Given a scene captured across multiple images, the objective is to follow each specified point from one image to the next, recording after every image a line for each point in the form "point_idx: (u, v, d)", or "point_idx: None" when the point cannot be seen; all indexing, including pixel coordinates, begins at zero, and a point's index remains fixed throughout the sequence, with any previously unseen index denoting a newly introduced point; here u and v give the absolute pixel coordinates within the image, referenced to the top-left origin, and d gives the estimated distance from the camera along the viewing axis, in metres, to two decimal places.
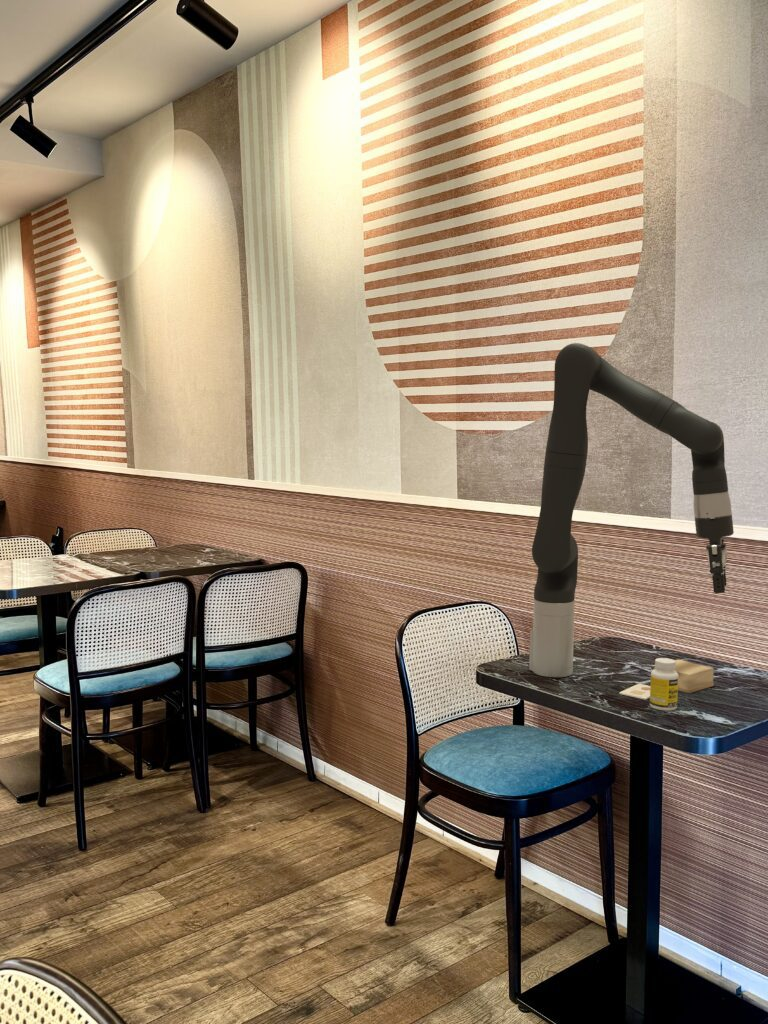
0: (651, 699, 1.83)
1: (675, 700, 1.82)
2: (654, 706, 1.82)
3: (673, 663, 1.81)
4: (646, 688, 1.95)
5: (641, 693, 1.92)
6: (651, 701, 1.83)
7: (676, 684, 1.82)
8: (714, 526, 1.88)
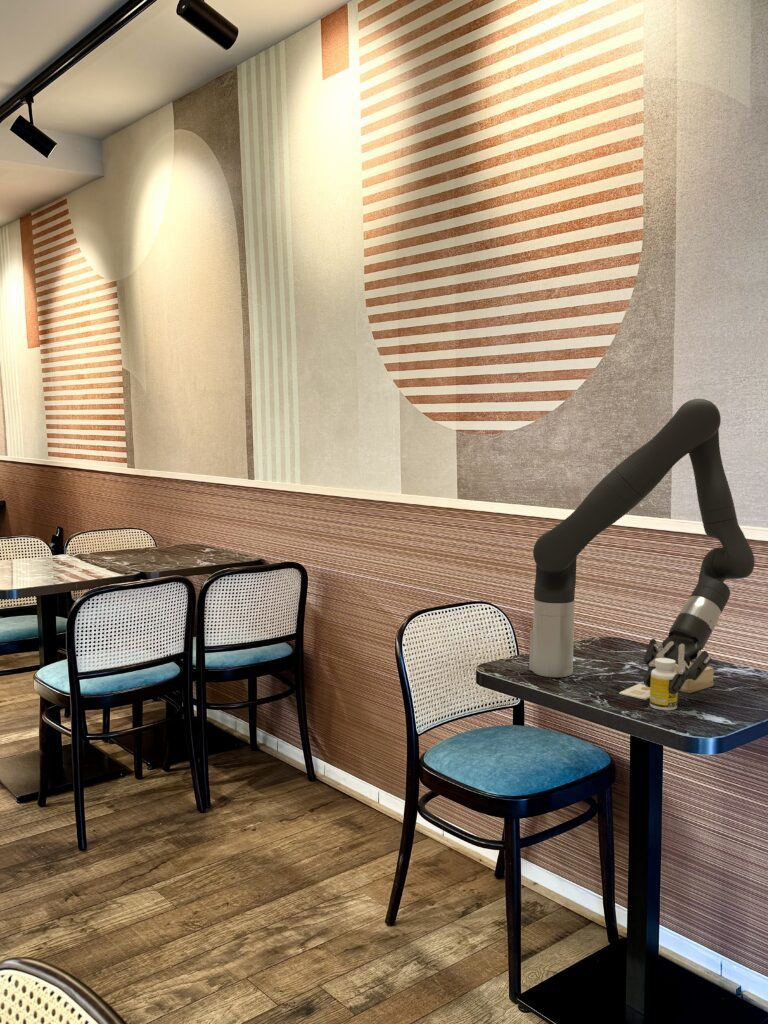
0: (651, 699, 1.83)
1: (675, 700, 1.82)
2: (654, 706, 1.82)
3: (673, 663, 1.81)
4: (646, 688, 1.95)
5: (641, 693, 1.92)
6: (651, 701, 1.83)
7: None
8: (707, 636, 1.85)
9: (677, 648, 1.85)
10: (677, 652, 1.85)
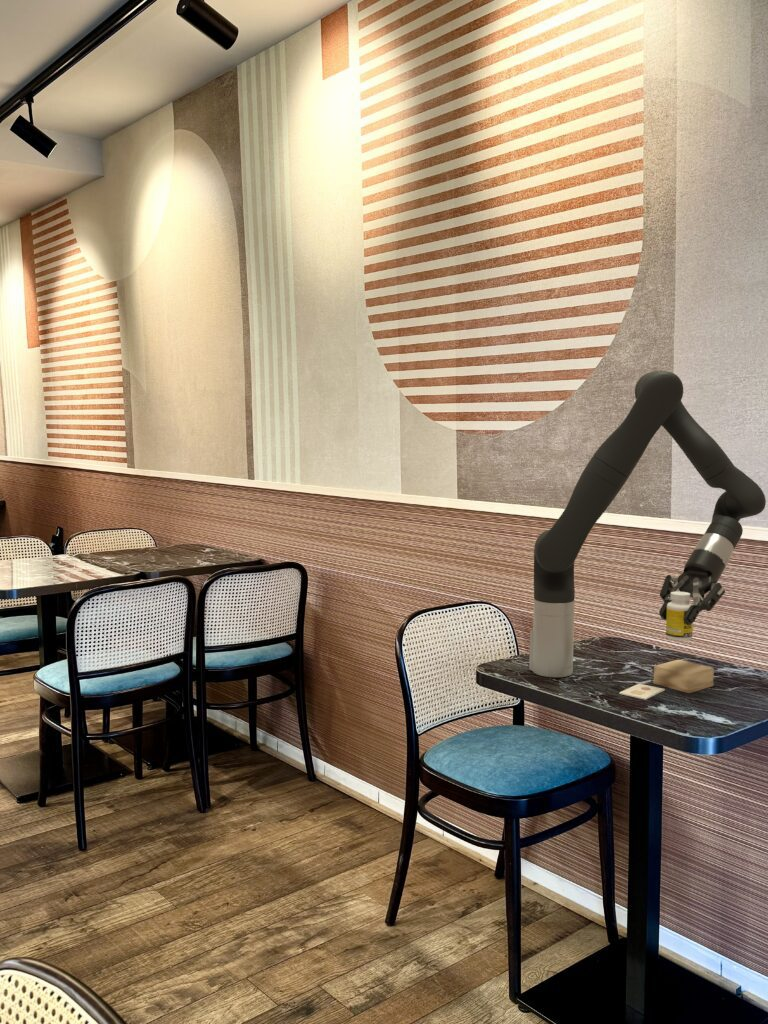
0: (667, 630, 1.92)
1: (690, 630, 1.90)
2: (670, 637, 1.91)
3: (688, 595, 1.90)
4: (646, 688, 1.95)
5: (641, 693, 1.92)
6: (667, 632, 1.92)
7: None
8: (720, 570, 1.93)
9: (691, 582, 1.94)
10: (691, 586, 1.93)
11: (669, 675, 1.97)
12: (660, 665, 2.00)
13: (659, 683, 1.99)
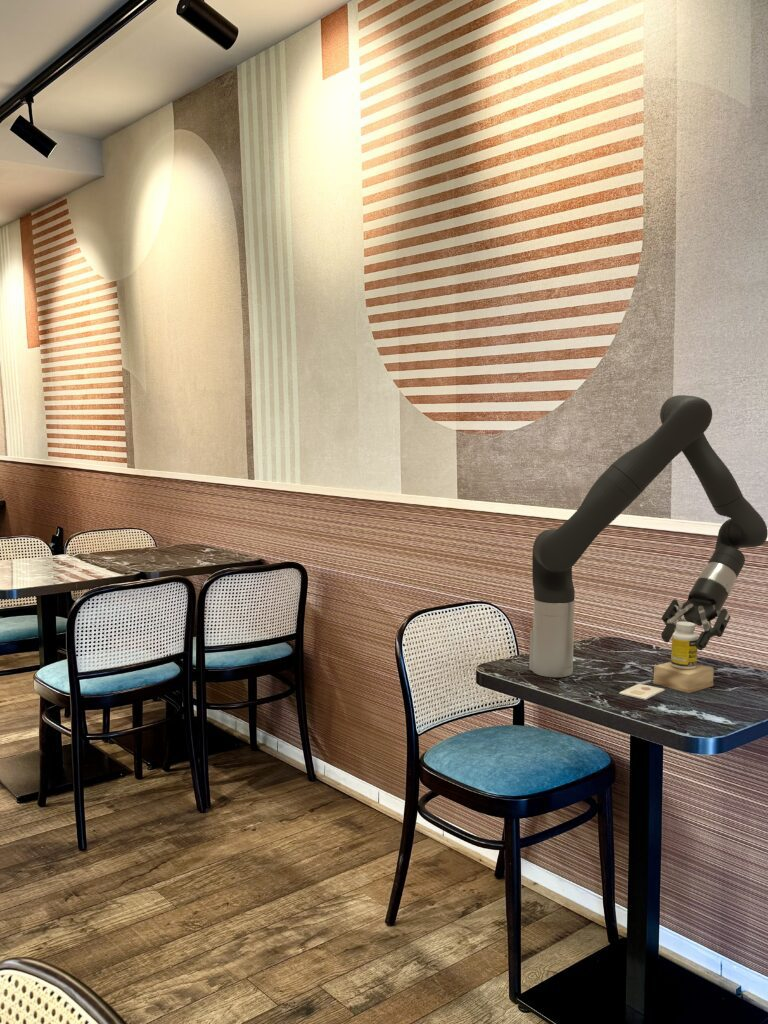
0: (672, 659, 1.99)
1: (695, 660, 1.97)
2: (675, 665, 1.98)
3: (693, 625, 1.97)
4: (646, 688, 1.95)
5: (641, 693, 1.92)
6: (672, 661, 1.99)
7: None
8: (724, 598, 2.00)
9: (696, 610, 2.01)
10: (696, 613, 2.00)
11: (669, 675, 1.97)
12: (660, 665, 2.00)
13: (659, 683, 1.99)
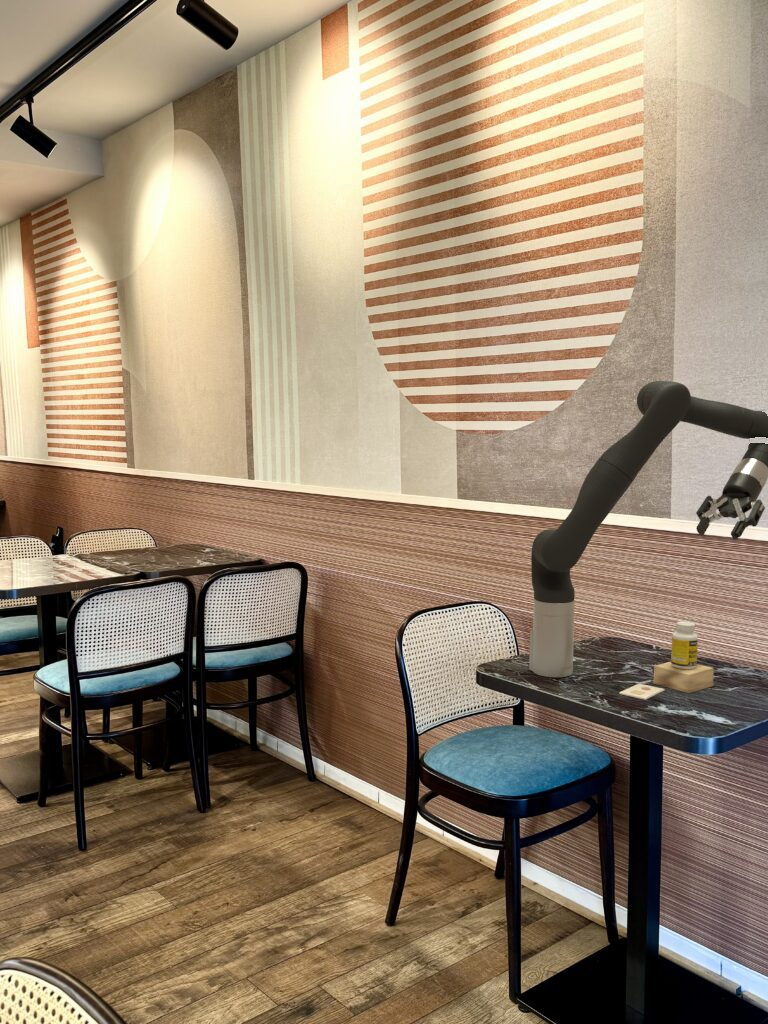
0: (672, 659, 1.99)
1: (695, 660, 1.97)
2: (675, 665, 1.98)
3: (693, 625, 1.97)
4: (646, 688, 1.95)
5: (641, 693, 1.92)
6: (672, 661, 1.99)
7: (696, 645, 1.97)
8: (758, 491, 2.05)
9: (730, 503, 2.05)
10: (731, 506, 2.05)
11: (669, 675, 1.97)
12: (660, 665, 2.00)
13: (659, 683, 1.99)
